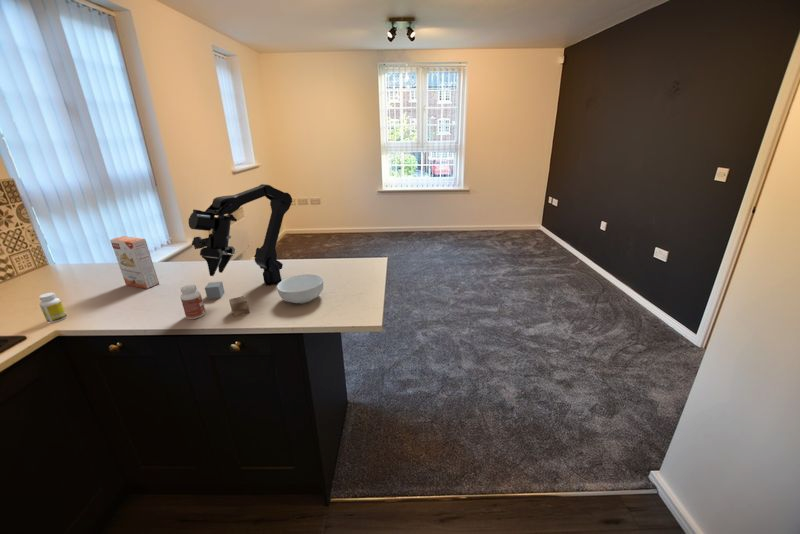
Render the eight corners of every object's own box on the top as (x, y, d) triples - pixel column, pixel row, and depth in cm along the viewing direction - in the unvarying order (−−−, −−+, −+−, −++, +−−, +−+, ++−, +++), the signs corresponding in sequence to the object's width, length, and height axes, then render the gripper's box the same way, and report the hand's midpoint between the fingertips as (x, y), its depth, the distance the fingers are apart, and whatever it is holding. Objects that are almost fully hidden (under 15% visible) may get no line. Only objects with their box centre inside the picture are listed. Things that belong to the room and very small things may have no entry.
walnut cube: (246, 307, 131) (243, 295, 129) (249, 313, 127) (247, 300, 125) (231, 311, 128) (229, 299, 126) (234, 317, 124) (231, 304, 122)
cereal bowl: (310, 286, 147) (308, 270, 144) (333, 298, 136) (331, 281, 133) (271, 299, 136) (268, 283, 133) (293, 314, 125) (290, 296, 122)
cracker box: (124, 285, 154) (108, 239, 146) (138, 280, 159) (124, 235, 152) (146, 289, 149) (130, 242, 141) (160, 284, 154) (145, 238, 146)
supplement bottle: (71, 315, 130) (61, 291, 126) (59, 322, 125) (48, 297, 121) (55, 316, 129) (44, 292, 125) (43, 324, 124) (31, 298, 120)
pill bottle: (206, 316, 125) (199, 287, 121) (186, 321, 122) (178, 292, 118) (204, 309, 130) (197, 281, 126) (185, 314, 127) (177, 286, 123)
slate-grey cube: (224, 292, 144) (222, 281, 142) (221, 298, 139) (218, 286, 137) (211, 294, 143) (208, 282, 141) (207, 299, 138) (204, 287, 137)
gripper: (206, 228, 137) (202, 268, 138) (185, 228, 118) (181, 274, 120) (237, 232, 138) (232, 272, 140) (221, 234, 120) (216, 279, 122)
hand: (216, 274), depth 130 cm, fingers open, 9 cm apart
